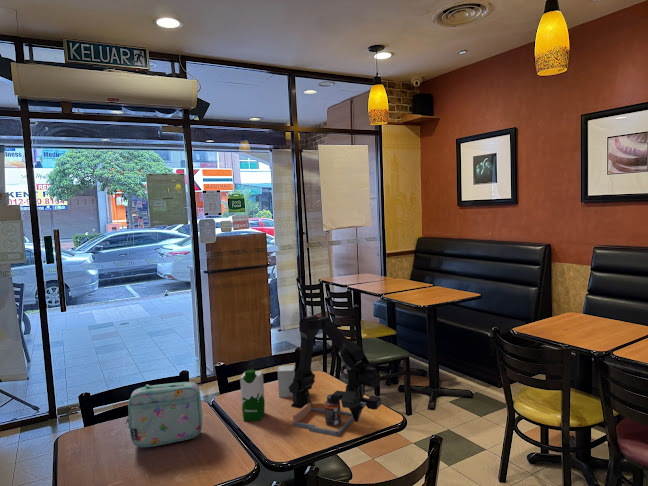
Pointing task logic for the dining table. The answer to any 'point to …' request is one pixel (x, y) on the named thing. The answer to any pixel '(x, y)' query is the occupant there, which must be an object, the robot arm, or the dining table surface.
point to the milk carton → (252, 395)
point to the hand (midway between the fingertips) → (356, 421)
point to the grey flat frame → (303, 413)
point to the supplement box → (285, 380)
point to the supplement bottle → (332, 413)
